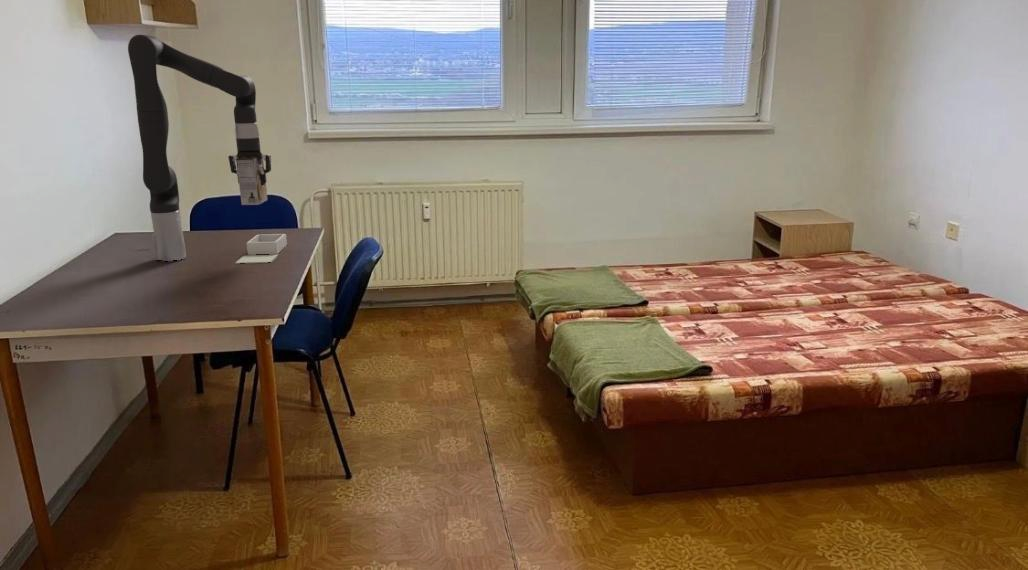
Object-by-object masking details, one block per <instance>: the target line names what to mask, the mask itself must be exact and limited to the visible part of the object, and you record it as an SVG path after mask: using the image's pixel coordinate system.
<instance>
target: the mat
mask: <svg viewBox="0 0 1028 570" xmlns="http://www.w3.org/2000/svg"><path fill="white" fill-rule="evenodd" d="M278 257H279V254H269V255H248V254H247V255H243V256H241V257H240V258H239V259H237V261H235V265H237V264H238V265H239V264H240V263H245V264H269V263H268V262H271V263H272V262H273V261H274V260H275V259H277V258H278ZM240 265H241V264H240Z"/></svg>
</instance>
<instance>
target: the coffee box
mask: <svg viewBox="0 0 1028 570" xmlns="http://www.w3.org/2000/svg"><path fill="white" fill-rule="evenodd" d="M264 163H265V162H264V159H263V158H262V159H261V160H260V161H258V157H251V158H250V157H245V158H243V157H240V158H236V161H235V164H236V169H237V171H238V176H237V180H238V179H239V183H238V186H239V193H240V202H241V206H258V205H261V204H263V203H264V202H267V201H268V193H267V182H266V183H265V185H261V176H260V175H261V173H260V171H259V168H258V164H259V165H261V164H262V165H263V168H264V169H265V165H264Z"/></svg>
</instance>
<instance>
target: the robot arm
mask: <svg viewBox="0 0 1028 570" xmlns="http://www.w3.org/2000/svg"><path fill="white" fill-rule="evenodd" d="M127 51H128V57H129V62H130V66H131V70H132V76H133V81H134V92H135V93H134V94H135V104H136V115H137V123H138V131H139V136H140V142H141V150H142V161H143V162H142V180H143V184H144V186H145V188H147V189H148V191H149V194H150V196H149V197H150V198H149V199H150V201H149V212H150V216H151V217H150V218H151V223H152V228H153V229H152V231H153V233H152V234H151V238H152V239H151V240H152V246H153V251H154V258H155V261H156V260H163V261H162V262H164V261H168V262H174V261H173V260H177V261H181V259H182V260H185V259H186V258H187V252H186V244H185V237H184V232H183V225H182V217H181V212H180V211H181V210H180V192H179V186H178V184H179V183H178V178H177V174H176V172H175V170H174V169H173V168H172V167H171V166H170V165H169V161H168V155H167V146H168V138H169V126H170V125H169V114H168V107H167V106H168V104H167V103H166V99H165V97H164V95H163V94H164V93H162V90H161V87H160V84H159V81H158V73H157V65H158V66H162V67H166V68H170V69H173V70H176V71H178V72H180V73H183V74H184V75H185V76H188V77H189V78H191V79H193V80H195V81H198V82H201V83H203V84H204V85H207V86H209V87H210V86H211V88H212V87H213V88H216V89H218V90H220V91H222V92H224V93H226V94H228V95H230V96H232V97H235V106H234V107H233V117H234V119H233V120H234V134H235V135H234V136H235V141H236V142H235V143H236V150H237V151H236V152H237V154H230V155H228V156H227V158H228V163H229V168H230V172H231V173H232V174H236V175H237V177H238V171H237V163H236V159H237V158H240V157H243V158H245V157H250V158H251V157H258V161H260V160H261V159H262V158H263V162H265V167H264V168H263V165H262V164H261V165H259V164H258V168H259V171H260V173H261V175H260V176H261V185H265V183H266V184H267V174H268V173H270V172H272V156H271V154H269V153H268V154H263V153H262V152H261V144H260V143H261V142H260V133H259V127H258V123H257V114H256V113H257V111H256V101H257V100H256V99H257V97H256V96H257V94H256V92H257V91H256V90H257V89H256V85H255V82H254V81H253V79H252V78H251V77H249V76H248V75H247V76H246V75H238V74H235V73H232V72H230V71H227V70H226V69H224V68H223V67H221V66H219V65H217V64H214V63H211V62H208V61H206V60H204V59H203V60H202V59H200V58H197V57H195V56H192V55H189V54H187V53H184V52H182V51H180V50H178V49H176V48H174V47H172V46H171V45H168V44H167V43H165V42H164V41H162V40H160V39H158V38H156V37H155V36H153V35H148V34H136V35H134V36H132V37H131V38H130V40H129V41H128V44H127ZM237 182H238V184H239V179H238V178H237Z"/></svg>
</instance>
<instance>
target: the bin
mask: <svg viewBox="0 0 1028 570" xmlns="http://www.w3.org/2000/svg"><path fill="white" fill-rule="evenodd" d="M286 245H287V246H288V241H287V233H271V234H270V233H269V234H267V233H266V234H263V233H262V234H256V235H254V237H252V238H251V239H250V240H248V241H247V242H246V248H247V249H246V250H247V255H256V254H269V255H279V254H280V253H281V252H282V251H283V250H284V249H285V248H286V247H287V246H286ZM284 247H285V248H284ZM283 248H284V249H283ZM282 249H283V250H282ZM281 250H282V251H281ZM280 251H281V252H280ZM279 252H280V253H279ZM278 253H279V254H278Z"/></svg>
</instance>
